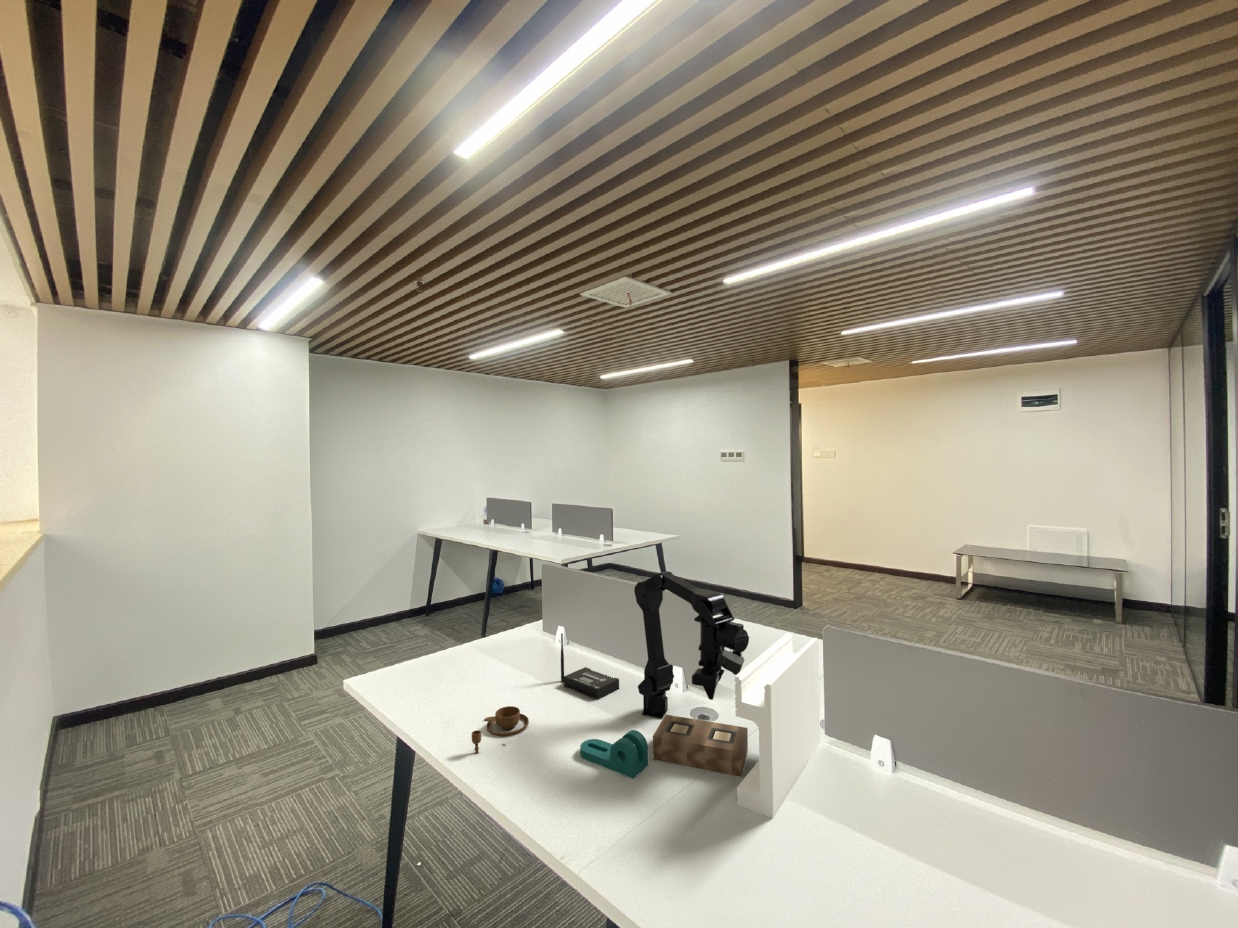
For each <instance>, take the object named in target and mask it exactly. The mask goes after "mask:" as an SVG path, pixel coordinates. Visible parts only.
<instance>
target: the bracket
mask: <svg viewBox="0 0 1238 928" xmlns="http://www.w3.org/2000/svg"><path fill="white" fill-rule="evenodd" d="M647 741H648V740H647V739H646V737H645V736H644V734H642V733H641V732H640V731H638V730H636V729H631V730H629V731H628V732H626V733H625V734H624V735H622V737H620V738H619V739H617V740H616V741H615V742H614V743H611V742H607V741H604V740H603V739H598V738H591V739H587V740H584V741H582V743H580V746H579V750H580V753H579V755H580V757H581V758H582V760H584V761H587V762H590V763H591V764H595V765H597V766H599V767H602V768H605V769H607V770H610V771H613V772H615V773H618V774H620V775H623V776H625V777H627V778H630V779H633V780H635V778H636V777H638V775H640V774H641V773H642V772H643V771H644V770H645V769H646V768H647V767H648V766H649V745H648V742H647Z"/></svg>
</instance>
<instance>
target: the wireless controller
mask: <svg viewBox="0 0 1238 928" xmlns="http://www.w3.org/2000/svg"><path fill="white" fill-rule="evenodd" d="M563 635H564V634H563V633H560V638H561V639H560V642H561V643H560V644H561V645H560V646H561V647H560V648H561V649H560V682H561V683H563V687H564V688H567V689H569V690H572V691H575V692H576V693H579V694H582V695H584V696H585V697H589V698H592V699H594V700H596V701H599V700H601V699H602V698H604V697H607V696H608V695H610V694H612V693H615V692H617V691H618V690H620V678H617V677H612V676H610V675H607V674H605V673H601V672H600V671H596V670H593V669H591V668H589V667H587V666H586V667H583V668H580V669H578V670H575V671H574V672H571V673H569V674H566V675H565V652H564V641H563V640H564V637H563Z"/></svg>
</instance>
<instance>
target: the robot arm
mask: <svg viewBox="0 0 1238 928" xmlns="http://www.w3.org/2000/svg"><path fill="white" fill-rule="evenodd" d="M664 591H668V592H670V593H672V594H674V595H675V596H677V597H679V598H680V599H682V600H684V601H685V602H687V603H689V604H690V606H691V608H692V609H693V611H694V612H695V613H697V614H698V615H697V616H695V618H694V619H693V620H694V622H697V623H700V624H699V625H700V626H699V627H700V628H699V629H700V631H699V632H700V633H699V634H700V638H699V639H700V641H699V642H700V643H699V644H698V651H700V652H699V653H700V659H699V661H698V666H699V667H698V668H697V669H696V670H695V671H693V673H692V675H691V684H692V685H693V686H694V685H695V686H699V687H703V689H704V692H705V694H706V696H707V698H708V699H709V700H710V701H712V700H714V698H715V694H716V693H715V692H716V689H717V686H718V684H719V682H720V681H721V679H722V677H723V674H724V672H725V670H727V671H729V672H730V673H732V674H733V675H735V676H736V675H737V674H738V673H739V672H741V671H742V668H743V665H744V662H745V657H744V656H743V652H745V651H746V649H747V647H748V645H749V642H750V636H749V633H748V632H747V630H746V629H744V624H742V623H738V622H734V621H735V618H734V616H733V613H732V612H731V609H730V608H729V605H728V604H727V602H726V600H725V596H724V595H723V594H722V593H720V592H718V591H714V590H710V589H704V588H703V589H702V588H699V587H698V586H695V585H693V584H691V583H690V582H688V581H687V580H685V579H682V578H681V577H678V576H677V575H675V574H674V573H673V572H671V571H663V572H662V571H661V572H658V573H657V574H655V575H653V576H651V577H650V578H648V579H646V580H643V581H638V582H637V583H636V584H635V586H634V596H635V600H636V604H637V606H639V608H640V609H641V610H642V616H643V618H642V619H643V625H644V634H645V644H646V652H647V662H646V664H645V666H644V669H643V671H644V675H643V676H644V679H643V680H642V681H641V682H640V683H639V684H638V685H637V689H638V692H639V694H640V695H641V696H642V699H643V710H642V711H641V716H644V717H649V718H650V717H651V718H656V719H663V718H664V717H665V715H667V712H668V710H669V703H668V702H669V701H668V699H669V698H668V696H667V692H668V691H670V690H671V687H672V685H673V683H674V679H675V675H674V666H673V664H672V663H669V662H668V660H667V659H666V657H665V650H664V641H663V633H662V624H661V616H660V615H661V614H660V607H661V605H662V602H663V600H664V597H663V596H664V595H663V593H664ZM718 615H720V616H718ZM715 616H716V617H715ZM727 649H728V650H727ZM700 667H701V668H700Z"/></svg>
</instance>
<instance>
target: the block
mask: <svg viewBox="0 0 1238 928" xmlns="http://www.w3.org/2000/svg"><path fill="white" fill-rule="evenodd" d="M793 638H794V637H793V635H792V634H791V632H786V633H785V634H784V635H783V636H782V637H781V638H778V640H776V642H774V643H773V644H772V645H770V647H769V648H767V649H766V650H764V652H762V653H761V654H759V656H757V657H756V658H755V659H754V660H752V661H751V662H750V663H749V664H748V665H746V666H745V667H744V668H743V669H741V670H740V672H739V673H738V674H737V675H735V676H734V682H735V684H734V695H735V697H734V700H735V701H734V704H735V705H734V706H735V709H736V710H735V717H738V718H741V719H745V720H747V721H751V722H753V723H754V724H755V725H756V727H758V748H759V749H758V752H759V753H758V754H759V756H758V758H759V759H758V761H757V762H756V763H755V765H754V766H753V767H752V769H750V771H749V772H748V773H747V775H746V776H745V777H744V779H743V780H742V781H741V782H740V784H738V786H737V788H736V792H737V794H736V796H737V800H736V801H737V803H736V804H737V805H738V806H739V805H740V806H742V807H744V808H746V809H750V810H752V811H755V812H757V813H759V814H762V815H764V816H767V817H769V818H771V819H774V818H775V816H776V815H777V813H778V812H779V810H780V808H781V807H782V805H783V804H784V802H785V801H786V799H787V797H788V796H789V794H790V792H791V791H792V790H793V787H794V786H795V784H796V782H797V781H798V780H799V778H800V776H801V774H802V773H803V771H804V770H805V768H806V767H807V765H808V764H809V762H810V760H811V758H812V757H813V755H814V754H815V752H816V750H817V749H818V747H819V745H820V743H821V742H820V702H819V701H820V696H819V695H820V693H819V649H818V648H819V647H818V645H819V644H818V640H819V639H818V638H817V637H813V638H812V639H810V640H809V641H808V642H807V644H804V646H803V647H802V648H800V650H799V651H798V652H797V653H795V652H794V642H793Z"/></svg>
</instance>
